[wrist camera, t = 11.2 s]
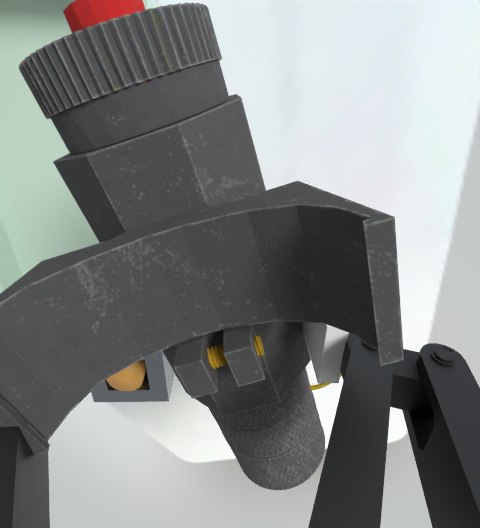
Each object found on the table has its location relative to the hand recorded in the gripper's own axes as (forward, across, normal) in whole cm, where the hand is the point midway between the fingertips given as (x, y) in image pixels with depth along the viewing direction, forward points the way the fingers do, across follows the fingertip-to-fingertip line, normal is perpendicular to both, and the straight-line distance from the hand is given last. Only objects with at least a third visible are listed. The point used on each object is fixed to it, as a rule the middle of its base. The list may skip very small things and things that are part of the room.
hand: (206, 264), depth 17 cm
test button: (+13, -10, -18) cm, 25 cm away
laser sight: (+1, +1, 0) cm, 1 cm away
